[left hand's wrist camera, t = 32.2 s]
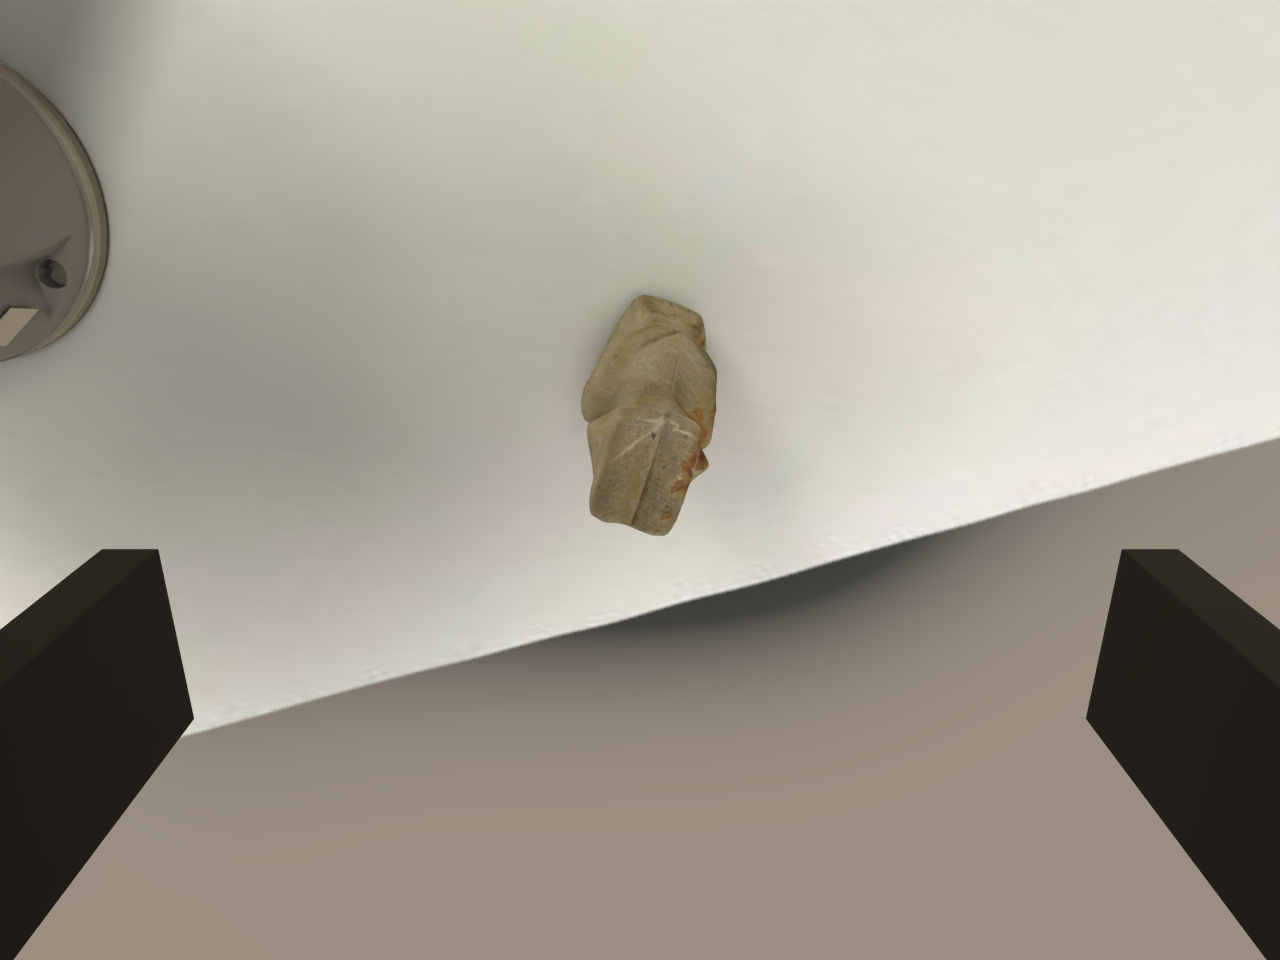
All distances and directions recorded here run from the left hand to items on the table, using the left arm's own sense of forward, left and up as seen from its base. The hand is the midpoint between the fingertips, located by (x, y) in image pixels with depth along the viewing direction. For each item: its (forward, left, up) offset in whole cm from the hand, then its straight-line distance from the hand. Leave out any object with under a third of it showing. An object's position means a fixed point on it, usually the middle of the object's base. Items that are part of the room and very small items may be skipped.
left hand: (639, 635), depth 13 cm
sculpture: (-1, -5, -36) cm, 36 cm away
